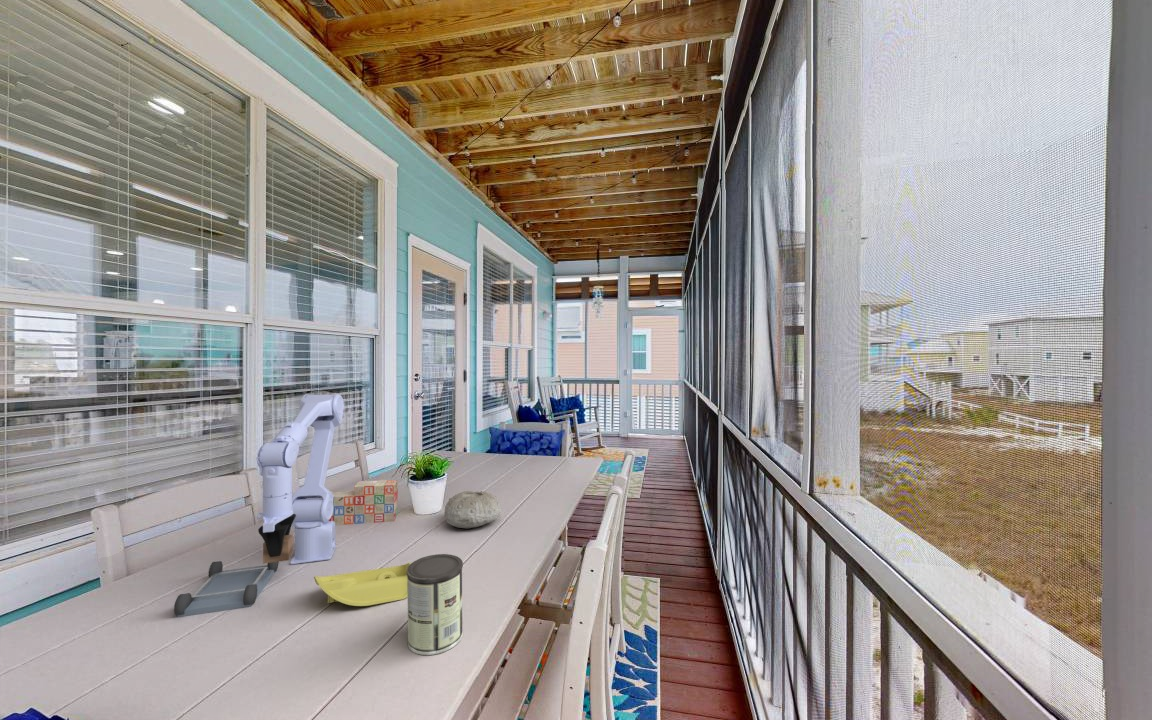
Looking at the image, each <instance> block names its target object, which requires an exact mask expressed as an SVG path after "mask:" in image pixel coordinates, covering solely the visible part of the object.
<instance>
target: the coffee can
mask: <svg viewBox="0 0 1152 720" xmlns="http://www.w3.org/2000/svg"><path fill="white" fill-rule="evenodd" d="M463 562H464V561H463V560H462V559H461V557H458V556H457V555H454V554H448V553H439V554H431V555H426V556H423V557H420V558H418V559H416V560H415V561H414V560H413V561H412V562H410V563H411V564H410V565H409V566H408V568H407V590H408V597H407V647H408V649H409V650H410V652H412V653H414V654H417V655H421V656H434V655H438V654H439V655H440V654H442V653H445V652H447V651H449V650H451V649H453V648H454V647H456V646H457V645H458V644H459V643H460V641H462V639H463V635H464V631H463V566H464V563H463Z"/></svg>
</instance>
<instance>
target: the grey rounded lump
mask: <svg viewBox="0 0 1152 720" xmlns="http://www.w3.org/2000/svg"><path fill="white" fill-rule="evenodd" d="M501 513H502V507H501V503H500V501H499V499H498V497H497V496H495V495H494V494H492V493H489V492H488V491H482V490H481V491H473V490H472V491H471V490H467V491H466V490H465V491H463V492H459V493H457V494H456V493H455V494H454V495H453V496H452V497H450V498H449V499H448V501H447V502H446V503H445V508H444V514H443V515H444V518H445V519H444V520H446V523H448V524H449V525H451V526H453V527H456V528H458V529H460V528H462V529H471V528H472V529H473V528H477V527H481V526H484V525H486V524H489V523H492V522H495V521H496V520H497V519H498V518H499V516H500V515H501Z"/></svg>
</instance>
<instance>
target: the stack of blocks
mask: <svg viewBox="0 0 1152 720" xmlns="http://www.w3.org/2000/svg"><path fill="white" fill-rule="evenodd" d="M398 491H399V490H398V479H390V480H389V479H378V480H363V481H361V480H360V481H358V482H357V483H356V484H355V485H354V486H353V490H342V491H341V490H340V491H331V492H332V494H333V496H334V498H333V513H332V516H331V518H330V519H329V520H328V521H334V522H335V526H342V525H357V524H359V525H360V524H373V523H374V524H375V523H378V524H379V523H391V522H394V521H395V520H396V518H397V516H398V493H399V492H398Z"/></svg>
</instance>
